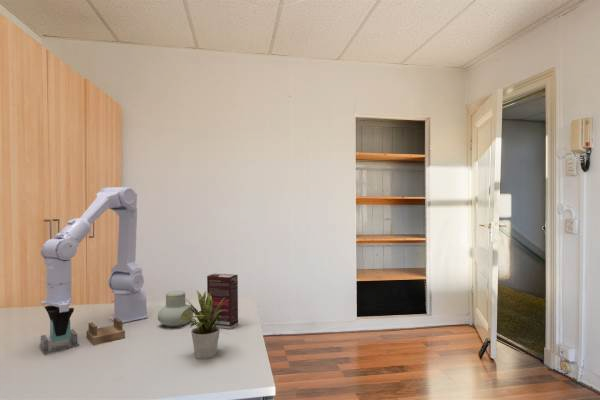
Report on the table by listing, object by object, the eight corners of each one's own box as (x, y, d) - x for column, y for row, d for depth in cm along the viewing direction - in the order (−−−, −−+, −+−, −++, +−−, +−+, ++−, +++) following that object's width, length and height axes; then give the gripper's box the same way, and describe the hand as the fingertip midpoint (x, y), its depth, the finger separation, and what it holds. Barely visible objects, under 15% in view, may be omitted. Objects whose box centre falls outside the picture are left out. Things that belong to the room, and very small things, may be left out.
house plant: (165, 351, 97) (165, 288, 97) (215, 339, 105) (214, 281, 105) (185, 370, 85) (184, 299, 86) (239, 355, 94) (238, 290, 94)
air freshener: (174, 317, 125) (174, 288, 125) (196, 319, 123) (196, 289, 123) (153, 328, 115) (153, 296, 115) (177, 330, 112) (176, 297, 112)
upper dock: (116, 330, 112) (116, 316, 112) (124, 338, 106) (124, 322, 106) (86, 337, 107) (86, 321, 107) (93, 345, 101) (93, 328, 101)
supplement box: (238, 324, 117) (238, 274, 117) (231, 329, 113) (230, 277, 113) (215, 322, 120) (214, 272, 120) (206, 326, 116) (206, 275, 116)
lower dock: (73, 338, 106) (72, 327, 106) (79, 346, 101) (79, 334, 101) (39, 345, 101) (39, 334, 101) (43, 354, 95) (43, 342, 95)
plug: (67, 334, 104) (67, 314, 104) (70, 338, 101) (70, 318, 101) (50, 338, 101) (50, 317, 101) (52, 342, 98) (52, 321, 98)
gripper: (37, 281, 104) (37, 329, 104) (45, 289, 93) (45, 344, 93) (66, 277, 108) (66, 324, 108) (77, 285, 98) (78, 337, 98)
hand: (59, 333), depth 101 cm, fingers closed on plug, 4 cm apart
